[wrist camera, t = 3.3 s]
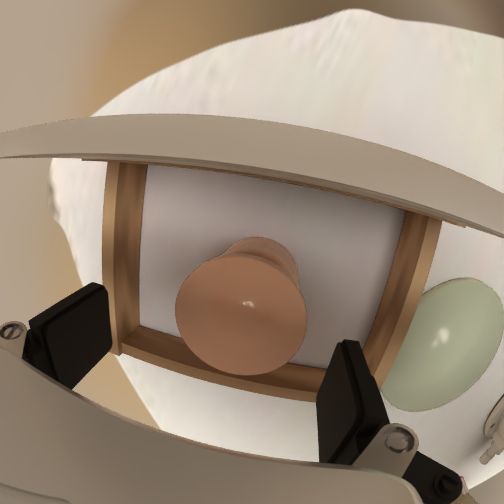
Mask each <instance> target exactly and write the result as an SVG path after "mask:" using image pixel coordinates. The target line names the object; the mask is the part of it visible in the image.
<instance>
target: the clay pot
mask: <svg viewBox="0 0 504 504" xmlns="http://www.w3.org/2000/svg"><path fill="white" fill-rule="evenodd" d="M175 316H176V322H177V326H178V329H179V332H180V334H181V336H182V338H183V340H184V341H185V343H186V344H187V346H188V347H189V348H190V350H191V351H192V352H193V353H194V354H195V355H196V356H198V357H199V358H200V359H201V360H202V361H204V362H205V363H207V364H208V365H210V366H212V367H214V368H216V369H219V370H221V371H224V372H227V373H231V374H236V375H258V374H263V373H267V372H270V371H272V370H275V369H277V368H279V367H281V366H282V365H284V364H285V363H286V362H288V361H289V360H290V359H291V358H292V357H293V356H294V355H295V354H296V352H297V351H298V350H299V348H300V346H301V344H302V342H303V339H304V337H305V332H306V322H307V321H306V308H305V303H304V299H303V296H302V294H301V291H300V289H299V288H298V271H297V266H296V263H295V261H294V259H293V257H292V256H291V254H290V253H289V252H288V251H287V250H286V249H285V248H284V247H283V246H282V245H280V244H279V243H277V242H275V241H273V240H271V239H267V238H263V237H250V238H245V239H242V240H240V241H237V242H236V243H234V244H233V245H231V246H230V247H229V248H228V249H227V250H226V251H225V252H224V253H223V254H222V255H221V256H217V257H215V258H212V259H210V260H208V261H206V262H205V263H203V264H202V265H201V266H199V267H198V268H197V269H196V270H195V271H193V272H192V273H191V274H190V275H189V276H188V277H187V279H186V280H185V281H184V283H183V284H182V286H181V288H180V290H179V292H178V295H177V299H176V305H175Z"/></svg>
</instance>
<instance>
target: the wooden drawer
mask: <svg viewBox="0 0 504 504" xmlns="http://www.w3.org/2000/svg"><path fill="white" fill-rule="evenodd" d="M0 158H81V159H82V161H105V162H108V164H107V172H106V182H105V192H104V206H103V225H102V280H103V285H104V286H105V288H106V290H107V291H108V296H109V311H110V323H111V332H112V341H113V344H112V348H111V350H110V351H109V352H111V353H113V354H115V355H118V356H120V355H121V354H122V353H124V354H127V355H129V356H132V357H134V358H137V359H140V360H142V361H145V362H148V363H151V364H154V365H156V366H159V367H162V368H165V369H168V370H171V371H174V372H178V373H181V374H184V375H187V376H191V377H194V378H197V379H201V380H205V381H208V382H212V383H216V384H220V385H224V386H228V387H232V388H236V389H241V390H245V391H250V392H254V393H259V394H265V395H270V396H275V397H281V398H287V399H293V400H300V401H307V402H315V403H316V397H317V393H318V390H319V388H320V386H321V383H322V381H323V379H324V376H325V374H326V371H327V369H321V368H314V367H307V366H301V365H295V364H289V363H285V364H284V365H282V366H281V367H279V368H277V369H275V370H272V371H270V372H267V373H263V374H258V375H236V374H231V373H227V372H224V371H221V370H219V369H216V368H214V367H212V366H210V365H208V364H207V363H205V362H204V361H202V360H201V359H200V358H199V357H198V356H196V355H195V354H194V353H193V352H192V351H191V350H190V348H189V347H188V346H187V344H186V343H185V341H184V340H183V339H182V338H178V337H175V336H171V335H168V334H165V333H162V332H158V331H155V330H152V329H149V328H146V327H143V326H140V325H139V258H140V237H141V222H142V210H143V199H144V190H145V181H146V173H147V166H148V165H160V166H171V167H181V168H190V169H199V170H207V171H215V172H223V173H230V174H237V175H244V176H250V177H256V178H263V179H269V180H274V181H280V182H286V183H291V184H296V185H301V186H307V187H312V188H316V189H321V190H326V191H331V192H335V193H340V194H344V195H348V196H353V197H357V198H361V199H365V200H369V201H373V202H377V203H381V204H385V205H389V206H392V207H396V208H400V209H403V210H406V212H405V217H404V221H403V226H402V230H401V234H400V239H399V243H398V247H397V251H396V254H395V258H394V262H393V265H392V269H391V272H390V276H389V279H388V282H387V285H386V289H385V292H384V295H383V298H382V301H381V304H380V307H379V310H378V313H377V315H376V318H375V321H374V324H373V326H372V329H371V332H370V334H369V337H368V339H367V342H366V344H365V347H364V349H363V354H364V357H365V359H366V362H367V365H368V368H369V370H370V373H371V375H372V376H374V378H375V380H376V383H377V386H378V389H379V390H380V388H381V386H382V385H383V383H384V381H385V379H386V377H387V375H388V373H389V371H390V369H391V367H392V365H393V363H394V361H395V359H396V357H397V355H398V352H399V350H400V348H401V346H402V344H403V341H404V339H405V337H406V334H407V332H408V330H409V327H410V325H411V322H412V320H413V317H414V315H415V312H416V309H417V307H418V304H419V301H420V298H421V295H422V293H423V290H424V287H425V284H426V280H427V277H428V274H429V271H430V267H431V264H432V261H433V257H434V253H435V250H436V246H437V242H438V238H439V234H440V229H441V225H442V221H445V222H448V223H451V224H454V225H458V226H461V227H464V228H466V226H468V227H471V228H474V229H477V230H480V231H483V232H486V233H489V234H492V235H495V236H498V237H501V238H504V194H503V193H501V192H499V191H497V190H495V189H493V188H491V187H489V186H487V185H485V184H483V183H481V182H479V181H476V180H474V179H472V178H470V177H468V176H465V175H463V174H461V173H458V172H456V171H454V170H451V169H449V168H446V167H444V166H441V165H439V164H436V163H433V162H431V161H428V160H425V159H422V158H420V157H417V156H414V155H411V154H408V153H405V152H402V151H399V150H396V149H392V148H389V147H386V146H382V145H379V144H376V143H372V142H368V141H365V140H361V139H357V138H353V137H349V136H345V135H341V134H336V133H332V132H327V131H322V130H318V129H312V128H307V127H302V126H296V125H290V124H284V123H278V122H271V121H263V120H255V119H247V118H237V117H226V116H213V115H195V114H127V115H110V116H98V117H87V118H78V119H71V120H63V121H57V122H51V123H45V124H39V125H34V126H29V127H24V128H19V129H15V130H11V131H7V132H3V133H0Z"/></svg>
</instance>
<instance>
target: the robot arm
mask: <svg viewBox="0 0 504 504" xmlns="http://www.w3.org/2000/svg"><path fill="white" fill-rule="evenodd" d="M29 325H30V329H29V330H28V331H27V328H26V326H25V325H24V324H23V323H21V322H17V321H12V322H7V323H5V324H3V325H1V326H0V504H479V503H478V502H477V501H476V500H475V499H474V498H473V497H472V496H471V495H470V494H469V493H468V492H467V493H465V494H463V493H462V489H463V484H462V480H461V478H460V477H459V475H458V474H457V473H455V472H454V471H452V470H450V469H449V468H447V467H445V466H443V465H441V464H439V463H438V462H436V461H434V460H432V459H431V458H429V457H427V456H425V455H424V454H422V453H420V452H419V451H417V449H418V446H419V440H418V437H417V435H416V433H415V432H414V431H413V430H412V429H410V428H409V427H408V426H405V425H403V424H398V423H392V424H390V422H389V418H388V415H387V412H386V409H385V406H384V403H383V400H382V397H381V394H380V391H379V389H378V386H377V383H376V380H375V378H374V376H372V375H371V373H370V370H369V368H368V365H367V362H366V359H365V357H364V354H363V351H362V349H361V346H360V343H359V341H354V340H346V339H344V340H343V341H342V343H340V342H338V343H337V345H336V348H335V350H334V353H333V356H332V358H331V361H330V364H329V366H328V369H327V371H326V374H325V376H324V379H323V381H322V383H321V386H320V388H319V390H318V393H317V397H316V409H317V425H318V443H319V462H309V461H298V460H289V459H281V458H274V457H268V456H261V455H255V454H250V453H244V452H239V451H234V450H229V449H225V448H221V447H216V446H212V445H208V444H205V443H201V442H197V441H194V440H190V439H187V438H184V437H180V436H177V435H174V434H171V433H168V432H165V431H162V430H159V429H156V428H153V427H151V426H148V425H146V424H143V423H141V422H138V421H135V420H133V419H131V418H128V417H126V416H124V415H121V414H119V413H117V412H114V411H112V410H110V409H108V408H106V407H103V406H102V405H100V404H98V403H95V402H94V401H91V400H90V399H88V398H86V397H84V396H82V395H80V394H78V393H76V392H74V391H73V390H72V389H73V388H74V387H75V386H76V385H77V383H79V382H80V381H81V379H82V378H83V377H84V376H85V375H86V374H87V373H88V372H89V371H90V370H91V369H92V368H93V367H94V366H95V365H96V364H97V363H98V362H99V361H100V360H101V359H102V358H103V357H104V356H105V355H106V354H107V353H108V352H109V351H110V350H111V348H112V344H113V341H112V332H111V323H110V311H109V296H108V291H107V290H106V288H105V286H104V285H101V284H98V283H94V282H92V283H90V284H88V285H86V286H84V287H83V288H81V289H79V290H78V291H76V292H74V293H73V294H71V295H69V296H68V297H66V298H64V299H63V300H61V301H59V302H58V303H56V304H54V305H53V306H51V307H50V308H48V309H46V310H45V311H43V312H42V313H40V314H39V315H37V316H35V317H34V318H32V319H31V320H29ZM484 430H485V434H486V436H487V437H488V438H490V439H494V440H493V441H492V443H491V447H490V448H489V449H487V450H486V451H485V452H484V454H483V455H482V456H481V457H480V463H481V464H483V465H485V464H487V463H488V462H489V461H490V460H491V459H492V458H493V457H494V456H495V454H497V455H499V454H500V453H501V452H502V451H503V450H504V396H503V398H502V399H501V400H500V401H499V403H498V404H497V405H496V407H495V408H494V410H493V411H492V413H491V414H490V416H489V418H488V420H487V422H486V425H485V429H484Z"/></svg>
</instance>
